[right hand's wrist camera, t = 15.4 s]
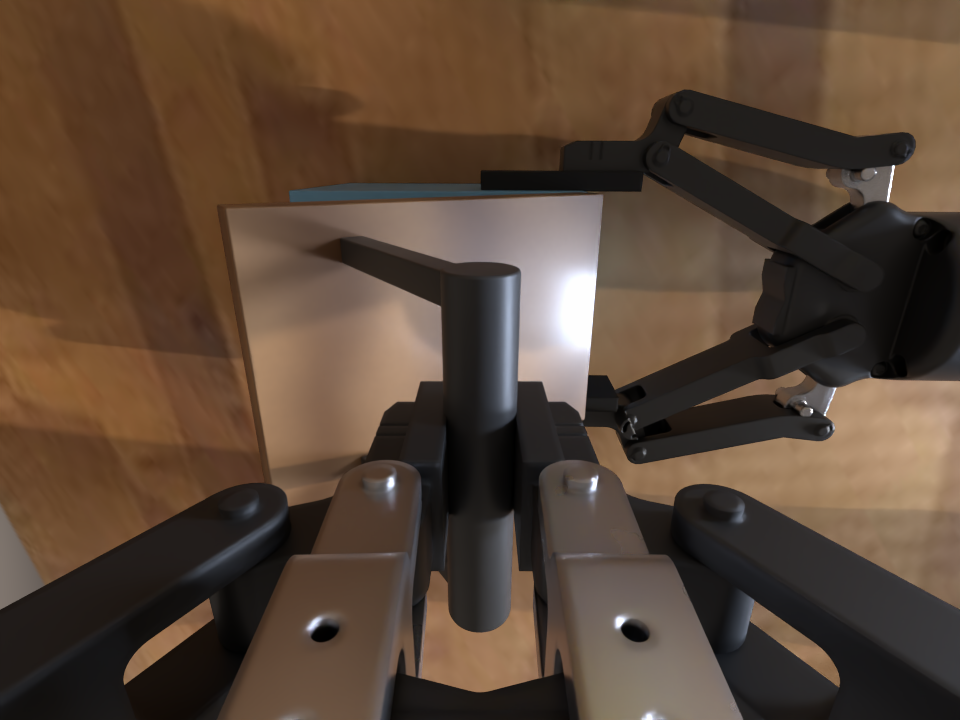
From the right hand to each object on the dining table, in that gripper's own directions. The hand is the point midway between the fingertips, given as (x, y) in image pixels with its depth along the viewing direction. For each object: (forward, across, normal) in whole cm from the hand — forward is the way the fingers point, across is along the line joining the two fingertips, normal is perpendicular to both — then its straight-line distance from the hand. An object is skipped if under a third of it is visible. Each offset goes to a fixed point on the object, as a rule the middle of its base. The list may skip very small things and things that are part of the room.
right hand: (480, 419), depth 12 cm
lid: (+6, +2, 0) cm, 7 cm away
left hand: (+13, 0, 0) cm, 13 cm away
